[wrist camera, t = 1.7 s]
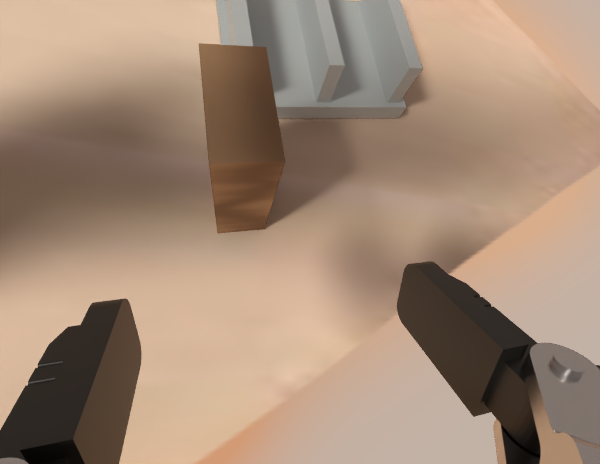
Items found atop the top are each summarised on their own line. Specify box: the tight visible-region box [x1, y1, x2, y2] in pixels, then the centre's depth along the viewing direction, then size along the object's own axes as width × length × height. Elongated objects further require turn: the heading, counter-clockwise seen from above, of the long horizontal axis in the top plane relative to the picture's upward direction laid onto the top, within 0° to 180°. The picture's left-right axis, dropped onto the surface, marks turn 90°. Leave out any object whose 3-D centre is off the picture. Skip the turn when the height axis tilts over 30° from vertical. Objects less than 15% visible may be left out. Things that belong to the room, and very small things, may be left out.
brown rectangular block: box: [199, 44, 285, 233], centre depth 20 cm, size 4×7×10 cm, turn 10°
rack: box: [216, 0, 423, 119], centre depth 28 cm, size 16×13×6 cm
